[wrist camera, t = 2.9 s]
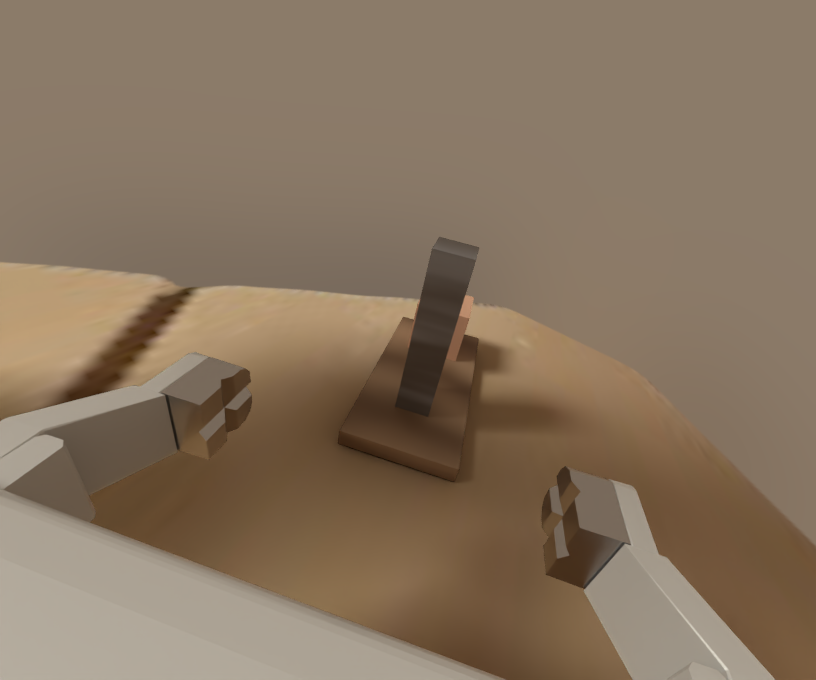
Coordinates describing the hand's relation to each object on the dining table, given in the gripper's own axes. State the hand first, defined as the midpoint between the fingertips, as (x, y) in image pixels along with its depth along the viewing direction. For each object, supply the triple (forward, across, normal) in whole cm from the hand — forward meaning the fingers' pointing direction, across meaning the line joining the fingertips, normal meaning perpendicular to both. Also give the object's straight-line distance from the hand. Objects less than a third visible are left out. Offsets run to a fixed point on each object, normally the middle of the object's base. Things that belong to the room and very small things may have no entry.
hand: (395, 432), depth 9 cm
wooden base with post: (+18, +1, +13) cm, 22 cm away
